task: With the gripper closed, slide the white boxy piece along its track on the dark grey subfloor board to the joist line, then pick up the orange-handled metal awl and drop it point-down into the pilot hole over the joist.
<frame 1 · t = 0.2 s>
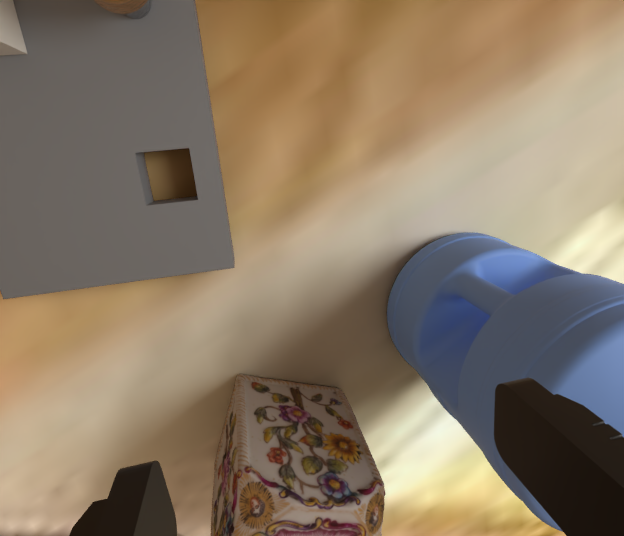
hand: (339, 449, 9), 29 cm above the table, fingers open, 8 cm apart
decorative jar: (278, 424, 43), on the table
water jug: (452, 302, 43), on the table
subfloor board: (92, 103, 31), on the table
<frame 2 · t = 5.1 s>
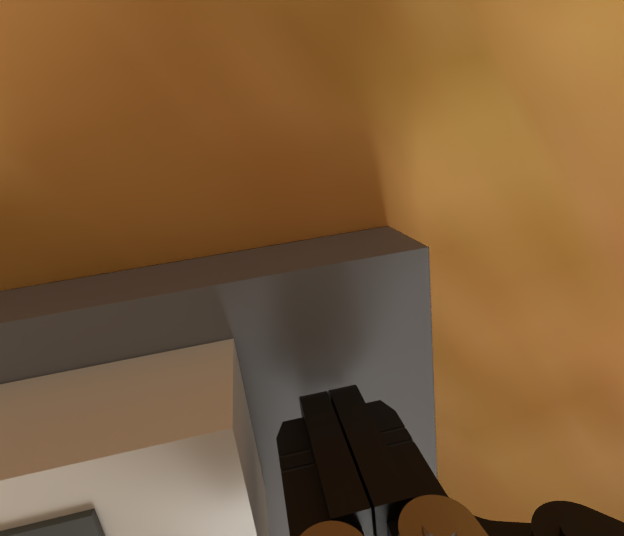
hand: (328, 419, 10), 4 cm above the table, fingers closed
white boxy piece: (120, 499, 9), point 5 cm above the table, slide at 0.5 cm, touching gripper
subfloor board: (35, 531, 14), on the table
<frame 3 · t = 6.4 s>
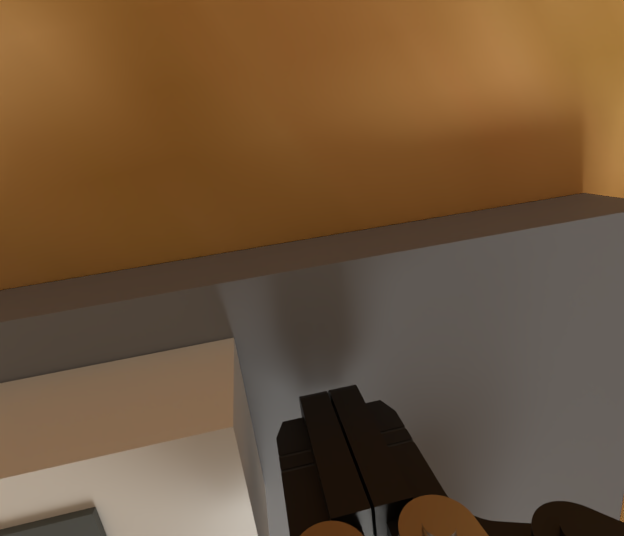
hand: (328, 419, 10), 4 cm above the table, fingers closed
white boxy piece: (120, 498, 9), point 5 cm above the table, slide at 7.9 cm, touching gripper
subfloor board: (242, 480, 15), on the table
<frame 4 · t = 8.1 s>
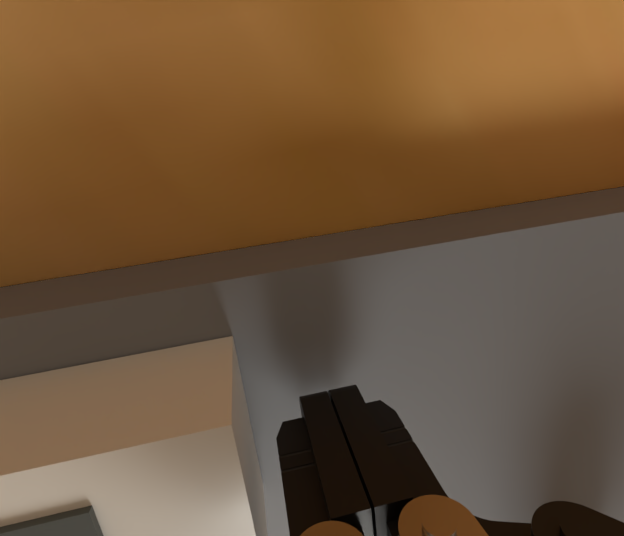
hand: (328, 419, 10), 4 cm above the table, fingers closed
white boxy piece: (117, 497, 9), point 5 cm above the table, slide at 13.5 cm, touching gripper
subfloor board: (379, 446, 16), on the table
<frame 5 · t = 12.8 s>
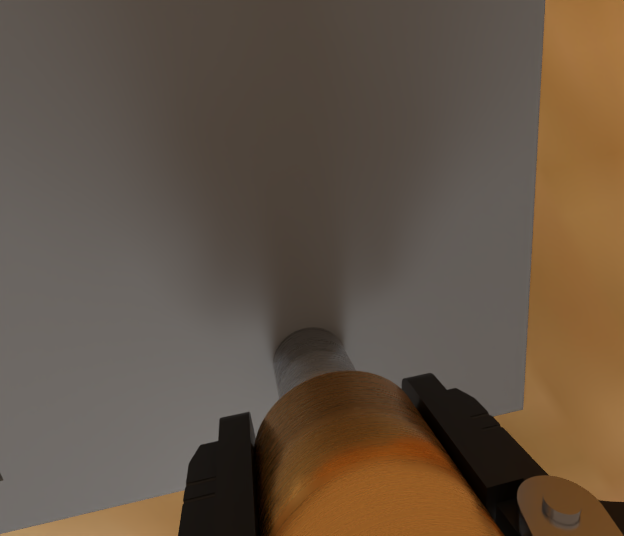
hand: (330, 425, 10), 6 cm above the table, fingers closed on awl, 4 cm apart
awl: (309, 360, 13), point 3 cm above the table, touching gripper, subfloor board
subfloor board: (104, 223, 14), on the table
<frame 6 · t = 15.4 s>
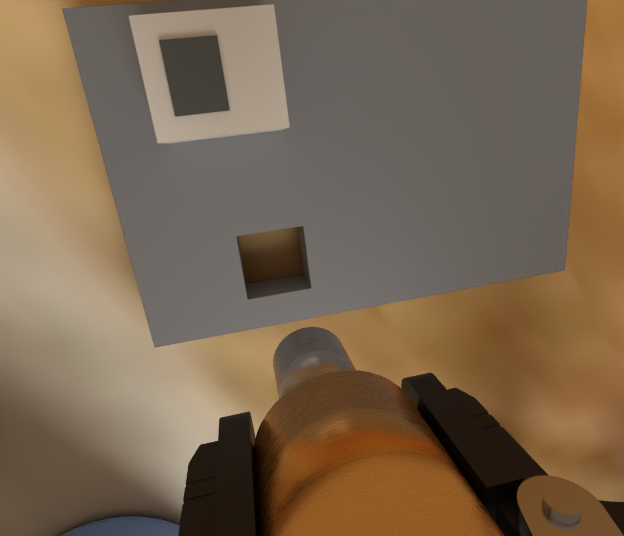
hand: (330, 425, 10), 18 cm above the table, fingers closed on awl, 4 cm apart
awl: (309, 360, 13), point 15 cm above the table, touching gripper
white boxy piece: (216, 81, 19), point 5 cm above the table, slide at 13.5 cm
subfloor board: (350, 163, 26), on the table
when the fingers open (4 cm above the table, at t = 18.1 s): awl stays where it is, resting in subfloor board.
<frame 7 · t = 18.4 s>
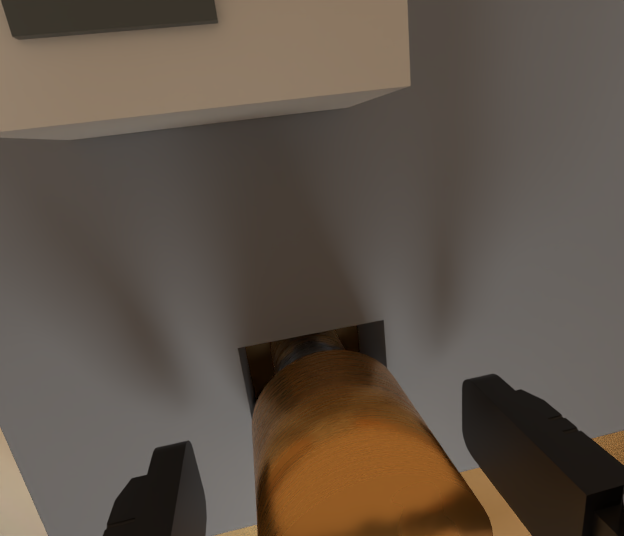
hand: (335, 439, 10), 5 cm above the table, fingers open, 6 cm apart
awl: (304, 346, 14), resting in subfloor board
subfloor board: (460, 180, 13), on the table
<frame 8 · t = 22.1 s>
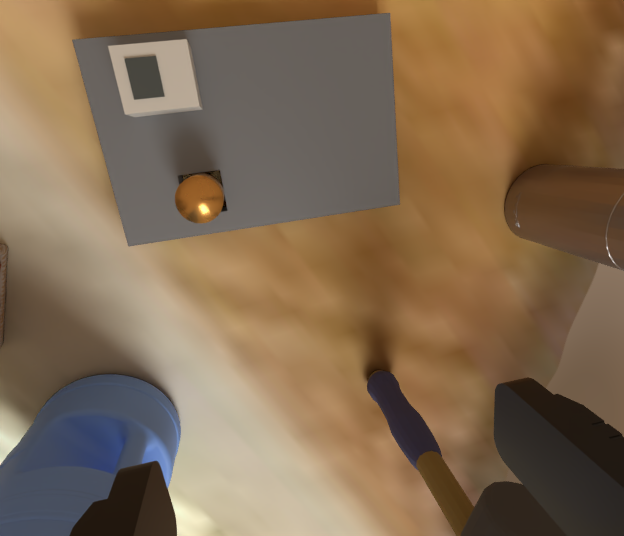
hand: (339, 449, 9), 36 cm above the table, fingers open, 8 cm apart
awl: (205, 190, 42), resting in subfloor board
rubber mallet: (377, 378, 53), on the table
water jug: (113, 427, 48), on the table
white boxy piece: (159, 80, 34), point 5 cm above the table, slide at 13.5 cm
subfloor board: (254, 133, 41), on the table
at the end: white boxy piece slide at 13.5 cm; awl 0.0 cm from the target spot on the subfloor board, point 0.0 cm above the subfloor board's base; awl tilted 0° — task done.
